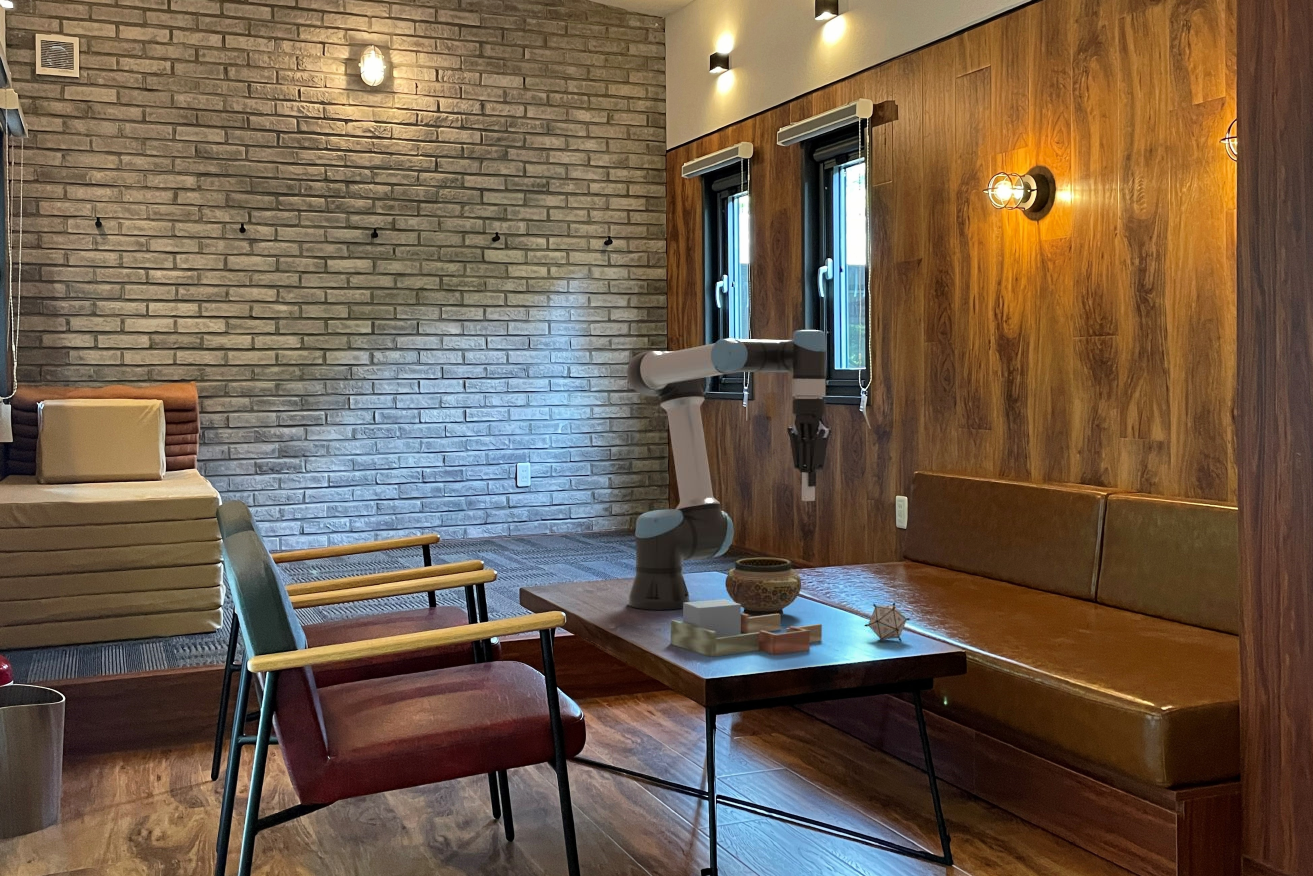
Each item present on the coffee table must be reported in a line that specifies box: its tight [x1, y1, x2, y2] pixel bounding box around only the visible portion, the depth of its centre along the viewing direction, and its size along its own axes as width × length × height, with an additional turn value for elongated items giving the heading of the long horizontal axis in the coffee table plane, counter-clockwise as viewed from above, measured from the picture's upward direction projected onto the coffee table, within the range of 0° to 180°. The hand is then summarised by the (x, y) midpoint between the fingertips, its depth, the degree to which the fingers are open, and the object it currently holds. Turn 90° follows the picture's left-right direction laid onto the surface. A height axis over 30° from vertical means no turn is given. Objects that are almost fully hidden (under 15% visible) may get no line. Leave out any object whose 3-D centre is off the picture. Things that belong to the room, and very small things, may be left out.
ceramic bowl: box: [724, 556, 802, 617], centre depth 291 cm, size 24×18×15 cm
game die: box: [863, 601, 911, 643], centre depth 262 cm, size 9×8×10 cm
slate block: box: [682, 598, 742, 638], centre depth 257 cm, size 7×10×9 cm
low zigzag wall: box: [670, 612, 823, 658], centre depth 260 cm, size 26×29×5 cm
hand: (808, 500), depth 280 cm, fingers closed
